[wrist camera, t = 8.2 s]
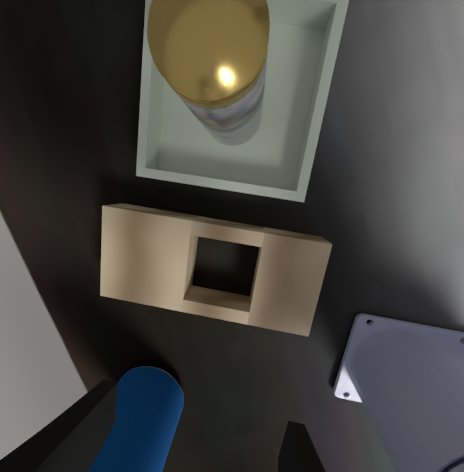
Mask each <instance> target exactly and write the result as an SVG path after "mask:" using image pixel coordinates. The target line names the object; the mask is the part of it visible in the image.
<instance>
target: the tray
mask: <svg viewBox="0 0 464 472" xmlns="http://www.w3.org/2000/svg"><path fill="white" fill-rule="evenodd" d="M266 1H267V4H268V9H269V16H270V31H269V42H268V53H267V64H266V75H265V87H264V98H263V109H262V119H261V123H260V126H259V128H258V130H257V132H256V133H255V135H254V136H253V137H252V138H251V139H250V140H248V141H247V142H245V143H243V144H241V145H237V146H228V145H224V144H221V143H219V142H218V141H216V140H215V139H214V138H213V137H212V136H211V135H210V133H209V132H208V131H207V130H206V129H205V127H204V126H203V125H202V124H201V123H200V121H199V120H198V119H197V118H196V117H195V115H194V114H193V113H192V112H191V111H190V109H189V108H188V107H187V106H186V105H185V103H184V102H183V101H182V100H181V98H180V97H179V96H178V95H177V94H176V92H175V91H174V90H173V89H172V88H171V86H170V85H169V84H168V83H167V82H166V80H165V79H164V78H163V77H162V76H161V74H160V72H159V71H158V69H157V68H156V65H155V63H154V61H153V59H152V56H151V53H150V49H149V44H148V37H147V23H148V14H149V10H150V6H151V3H152V0H145V18H144V37H143V55H142V74H141V92H140V111H139V129H138V148H137V166H136V176H140V177H146V178H153V179H159V180H165V181H172V182H178V183H184V184H191V185H197V186H203V187H210V188H216V189H222V190H229V191H235V192H241V193H248V194H254V195H260V196H267V197H273V198H279V199H286V200H292V201H298V202H304V201H305V197H306V192H307V188H308V183H309V179H310V174H311V170H312V165H313V161H314V156H315V152H316V147H317V143H318V138H319V134H320V129H321V125H322V120H323V116H324V111H325V107H326V102H327V98H328V93H329V89H330V84H331V80H332V75H333V71H334V66H335V62H336V57H337V53H338V48H339V44H340V39H341V35H342V30H343V26H344V21H345V17H346V12H347V8H348V3H349V0H266Z"/></svg>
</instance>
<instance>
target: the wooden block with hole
mask: <svg viewBox="0 0 464 472" xmlns="http://www.w3.org/2000/svg"><path fill="white" fill-rule="evenodd" d="M198 236H200V237H205V238H211V239H217V240H223V241H229V242H234V243H240V244H246V245H252V246H257V247H259V252H258V258H257V263H256V268H255V274H254V279H253V284H252V290H251V295H250V296H245V295H240V294H235V293H229V292H224V291H219V290H213V289H208V288H203V287H198V286H192V283H193V275H194V267H195V259H196V250H197V242H198ZM331 248H332V244H331V243H330V242H328V241H327V240H326V239H324V238H323V237H322V236H316V235H310V234H304V233H298V232H292V231H286V230H280V229H274V228H268V227H262V226H256V225H250V224H244V223H238V222H232V221H226V220H220V219H214V218H208V217H202V216H196V215H190V214H184V213H178V212H172V211H166V210H160V209H154V208H148V207H142V206H136V205H130V204H124V203H121V204H112V205H104V206H102V240H101V285H100V296H105V297H110V298H115V299H120V300H125V301H130V302H135V303H140V304H145V305H151V306H156V307H161V308H166V309H171V310H176V311H181V312H186V313H191V314H196V315H201V316H206V317H211V318H217V319H222V320H227V321H232V322H237V323H242V324H247V325H252V326H257V327H262V328H267V329H272V330H277V331H283V332H288V333H293V334H298V335H303V336H309V333H310V329H311V325H312V321H313V317H314V313H315V310H316V306H317V302H318V298H319V294H320V291H321V287H322V283H323V279H324V275H325V271H326V268H327V264H328V260H329V256H330V252H331Z"/></svg>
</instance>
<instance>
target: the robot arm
mask: <svg viewBox="0 0 464 472" xmlns="http://www.w3.org/2000/svg"><path fill="white" fill-rule="evenodd" d="M367 320H371V321H370V322H369V323H366V322H367ZM461 338H462V339H461ZM460 339H461V340H460ZM117 387H118V383H117V382H113V381H108V380H102V381H101V382H100V383H99V384H97V385H96V386H95V387H94V388H93V389H91V390H90V391H89V392H88V393H87V394H85V395H84V396H83V397H82V398H81V399H79V400H78V401H77V402H76V403H74V404H73V405H72V406H71V407H69V408H68V409H67V410H66V411H65V412H63V413H62V414H61V415H60V416H58V417H57V418H56V419H54V420H53V421H52V422H51V423H49V424H48V425H47V426H45V427H44V428H43V429H42V430H41V431H39V432H38V433H36V434H35V435H34V436H32V437H31V438H30V439H28V440H27V441H26V442H24V443H23V444H22V445H20V446H19V447H18V448H16V449H15V450H13V451H12V452H11V453H9V454H8V455H7V456H6V457H4V458H3V459H1V460H0V472H88V471H89V469H90V468H91V466H92V464H93V463H94V461H95V459H96V458H97V456H98V454H99V453H100V451H101V449H102V447H103V445H104V443H105V441H106V439H107V437H108V435H109V433H110V431H111V429H112V427H113V425H114V423H115V420H116V403H117ZM333 392H334V394H335V396H336V397H339V398H343V399H348V400H352V401H357V402H362V403H363V405H364V407H365V409H366V411H367V413H368V415H369V417H370V419H371V421H372V423H373V425H374V427H375V429H376V431H377V433H378V435H379V437H380V439H381V441H382V443H383V445H384V447H385V449H386V451H387V453H388V455H389V457H390V459H391V461H392V463H393V465H394V467H395V469H396V471H397V472H464V332H460V331H455V330H450V329H444V328H439V327H434V326H428V325H423V324H418V323H412V322H407V321H401V320H396V319H391V318H385V317H380V316H375V315H369V314H364V313H360V314H358V315H356V317H355V319H354V323H353V326H352V329H351V332H350V336H349V339H348V342H347V345H346V349H345V352H344V355H343V358H342V362H341V365H340V368H339V371H338V375H337V378H336V381H335V384H334V388H333ZM345 392H347V393H345ZM278 472H325V469H324V467H323V465H322V463H321V461H320V459H319V456H318V454H317V452H316V450H315V447H314V445H313V443H312V441H311V438H310V436H309V434H308V431H307V429H306V427H305V425H304V424H300V423H295V422H291V421H288V425H287V429H286V432H285V436H284V439H283V443H282V446H281V450H280V453H279V457H278Z"/></svg>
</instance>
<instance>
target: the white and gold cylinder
mask: <svg viewBox="0 0 464 472" xmlns="http://www.w3.org/2000/svg"><path fill="white" fill-rule="evenodd" d="M269 31H270V16H269V9H268V4H267V1H266V0H152V3H151V6H150V10H149V14H148V23H147V37H148V44H149V49H150V53H151V56H152V59H153V61H154V63H155V65H156V68H157V69H158V71H159V72H160V74H161V76H162V77H163V78H164V79H165V80H166V82H167V83H168V84H169V85H170V86H171V88H172V89H173V90H174V91H175V92H176V94H177V95H178V96H179V97H180V98H181V100H182V101H183V102H184V103H185V105H186V106H187V107H188V108H189V109H190V111H191V112H192V113H193V114H194V115H195V117H196V118H197V119H198V120H199V121H200V123H201V124H202V125H203V126H204V127H205V129H206V130H207V131H208V132H209V133H210V135H211V136H212V137H213V138H214V139H215V140H216V141H218V142H219V143H221V144H224V145H228V146H237V145H241V144H243V143H245V142H247V141H248V140H250V139H251V138H252V137H253V136H254V135H255V133H256V132H257V130H258V128H259V126H260V123H261V119H262V109H263V98H264V87H265V75H266V64H267V53H268V42H269Z"/></svg>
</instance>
